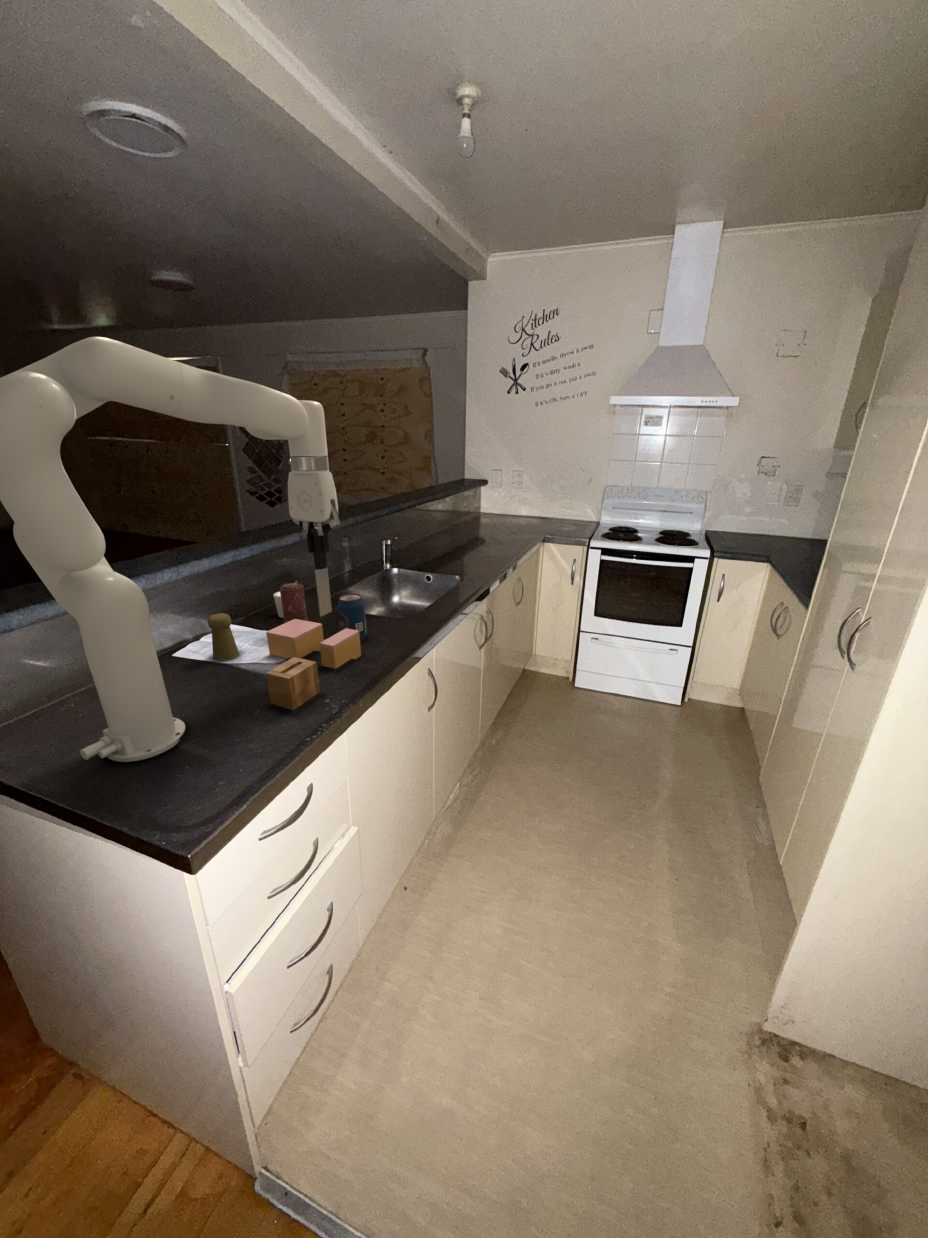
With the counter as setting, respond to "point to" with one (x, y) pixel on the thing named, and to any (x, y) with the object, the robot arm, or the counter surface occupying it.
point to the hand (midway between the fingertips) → (318, 551)
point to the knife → (321, 577)
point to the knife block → (293, 683)
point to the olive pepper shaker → (222, 637)
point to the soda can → (352, 614)
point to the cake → (295, 638)
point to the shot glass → (278, 604)
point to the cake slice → (340, 648)
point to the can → (293, 601)
